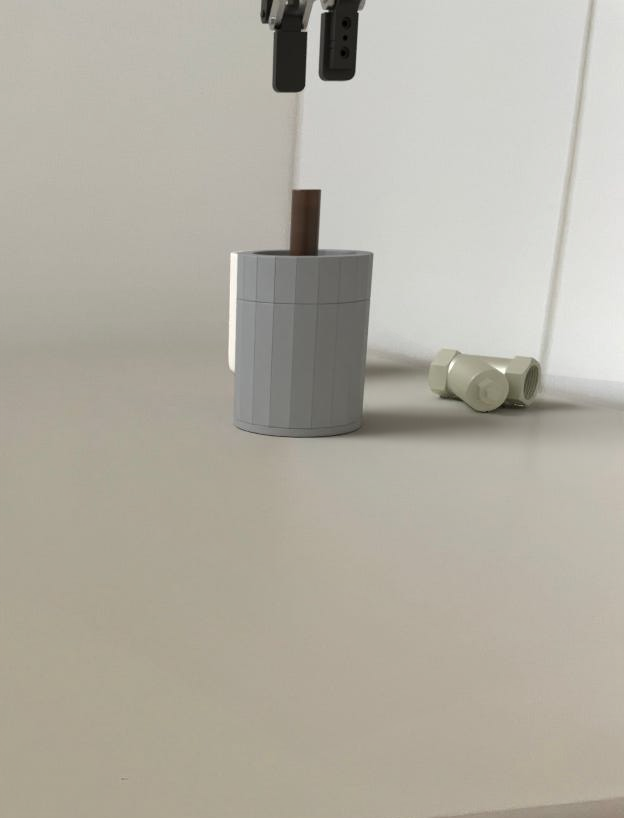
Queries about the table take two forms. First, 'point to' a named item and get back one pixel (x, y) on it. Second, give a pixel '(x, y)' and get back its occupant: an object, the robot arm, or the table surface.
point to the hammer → (305, 222)
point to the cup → (301, 341)
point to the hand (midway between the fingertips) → (311, 86)
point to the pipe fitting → (485, 379)
